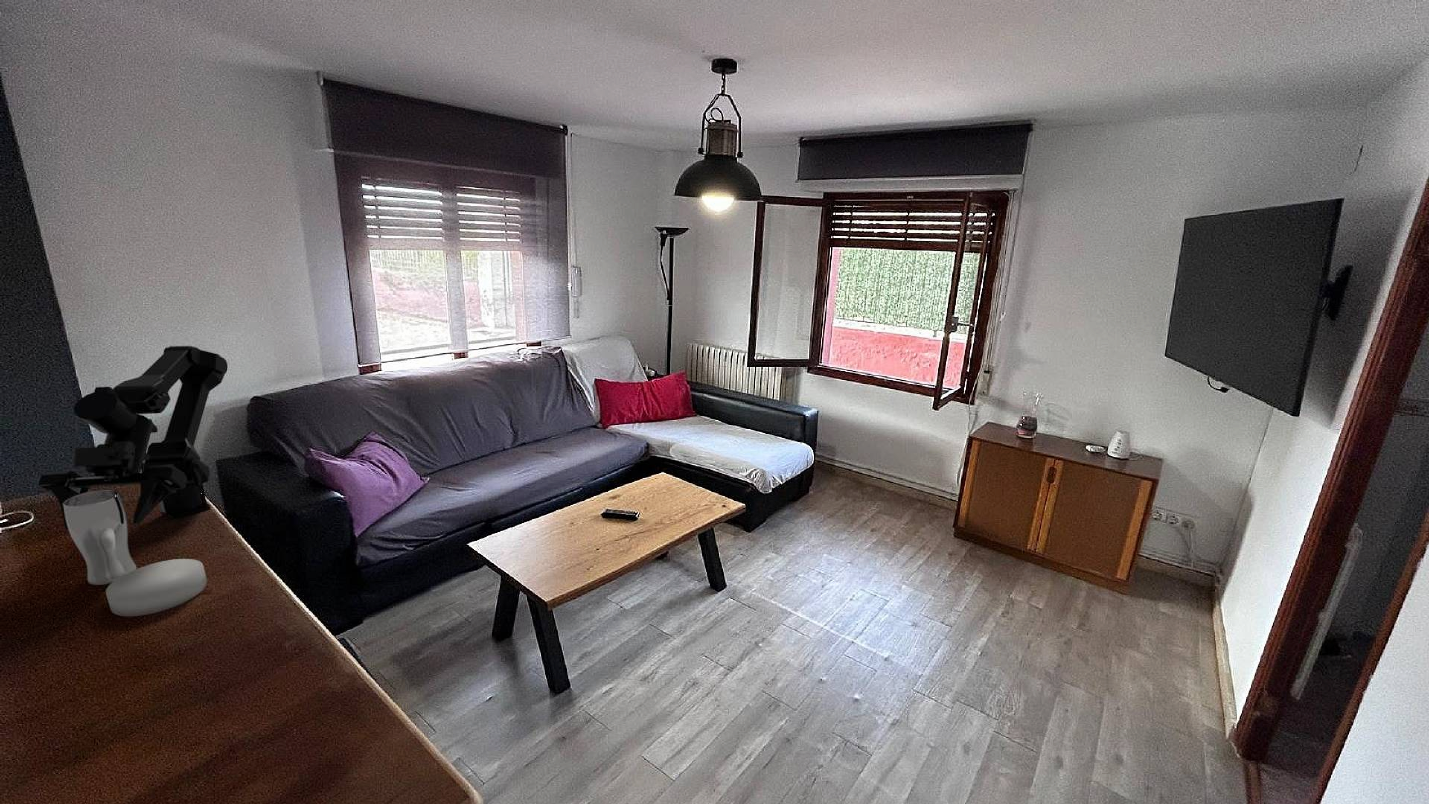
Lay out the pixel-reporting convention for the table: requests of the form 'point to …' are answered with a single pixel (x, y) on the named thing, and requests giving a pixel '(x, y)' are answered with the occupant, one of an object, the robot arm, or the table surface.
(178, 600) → the cream stand
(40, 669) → the table surface
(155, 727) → the table surface
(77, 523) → the beer glass
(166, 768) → the table surface
